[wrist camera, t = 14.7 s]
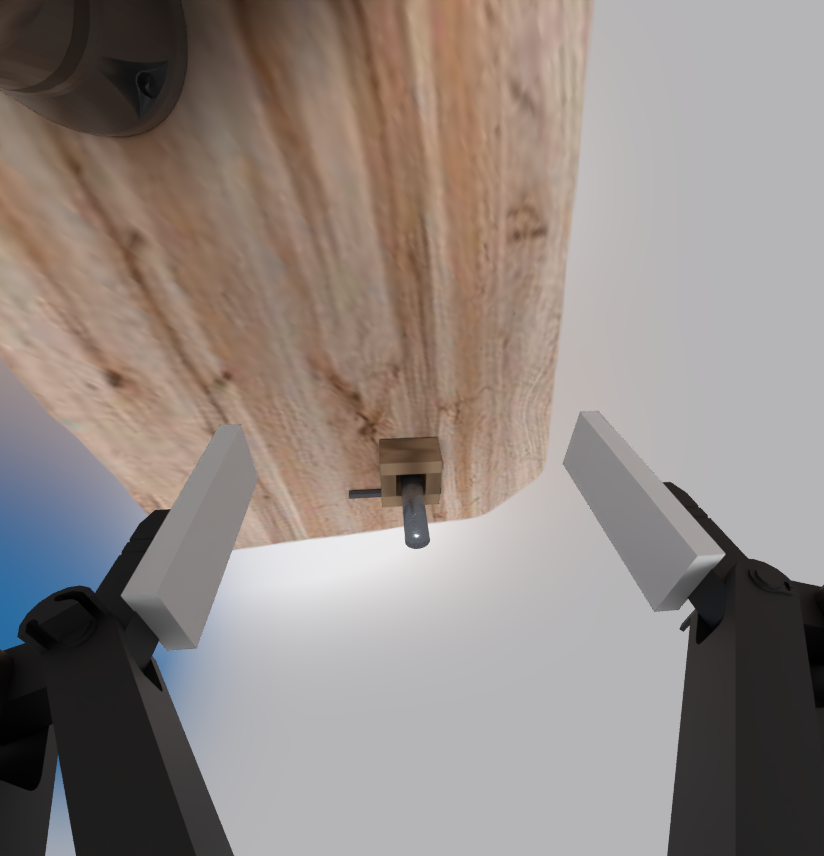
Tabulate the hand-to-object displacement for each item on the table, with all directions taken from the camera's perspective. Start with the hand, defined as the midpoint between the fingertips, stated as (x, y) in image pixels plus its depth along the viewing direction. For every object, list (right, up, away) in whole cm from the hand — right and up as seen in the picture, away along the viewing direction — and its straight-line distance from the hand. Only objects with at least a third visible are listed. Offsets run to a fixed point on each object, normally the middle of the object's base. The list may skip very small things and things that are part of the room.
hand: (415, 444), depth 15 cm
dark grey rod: (-3, -9, +42) cm, 43 cm away
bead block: (-1, -4, +39) cm, 39 cm away
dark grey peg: (-1, -4, +39) cm, 39 cm away
